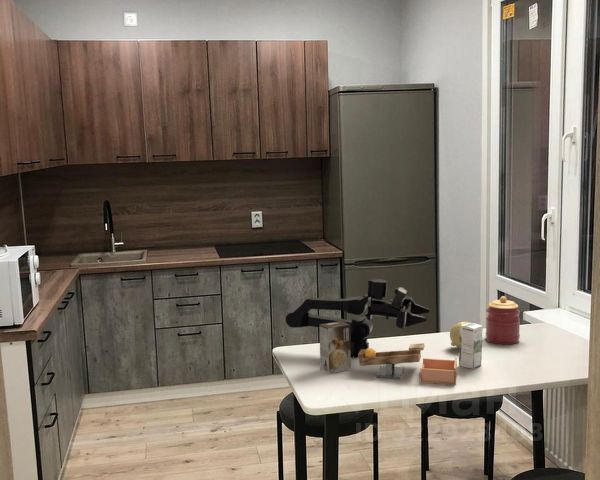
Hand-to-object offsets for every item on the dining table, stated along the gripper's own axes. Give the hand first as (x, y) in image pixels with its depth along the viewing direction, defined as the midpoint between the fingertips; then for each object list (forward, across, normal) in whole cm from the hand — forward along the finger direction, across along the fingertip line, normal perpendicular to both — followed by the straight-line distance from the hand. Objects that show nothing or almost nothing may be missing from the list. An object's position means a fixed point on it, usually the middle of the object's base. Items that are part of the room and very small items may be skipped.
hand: (428, 315), depth 228 cm
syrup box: (+16, -4, +15) cm, 22 cm away
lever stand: (-9, -19, +16) cm, 27 cm away
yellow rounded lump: (+14, +16, +17) cm, 27 cm away
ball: (-17, -19, +10) cm, 27 cm away
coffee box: (-28, -19, +18) cm, 38 cm away
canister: (+28, +32, +17) cm, 45 cm away
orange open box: (+7, -19, +14) cm, 25 cm away
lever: (-10, -14, +12) cm, 20 cm away
